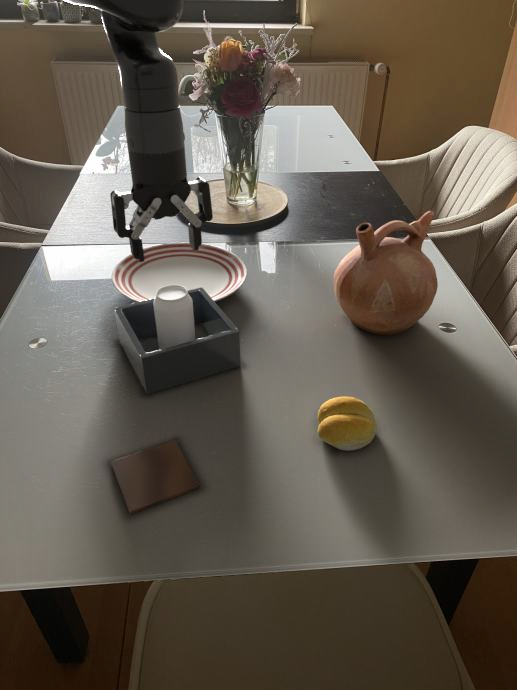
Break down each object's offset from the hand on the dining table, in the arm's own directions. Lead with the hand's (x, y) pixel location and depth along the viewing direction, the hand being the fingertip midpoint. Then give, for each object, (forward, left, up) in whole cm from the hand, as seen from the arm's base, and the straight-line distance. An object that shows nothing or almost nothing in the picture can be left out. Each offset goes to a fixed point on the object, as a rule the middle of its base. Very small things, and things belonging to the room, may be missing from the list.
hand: (167, 254), depth 81 cm
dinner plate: (+9, +23, -19) cm, 31 cm away
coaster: (-12, -24, -19) cm, 33 cm away
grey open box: (0, 0, -19) cm, 19 cm away
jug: (+38, -6, -19) cm, 43 cm away
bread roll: (+15, -28, -19) cm, 37 cm away
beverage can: (0, 0, -19) cm, 19 cm away
